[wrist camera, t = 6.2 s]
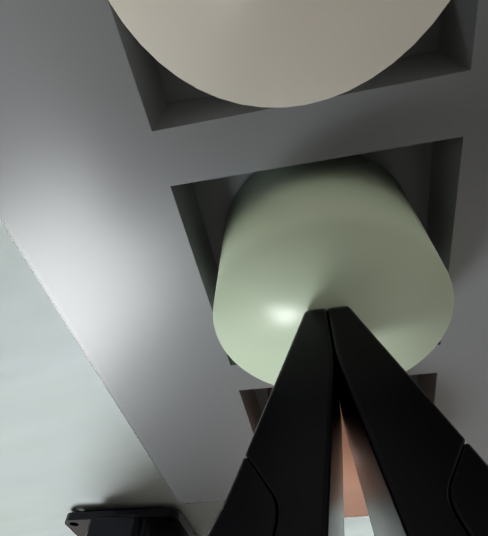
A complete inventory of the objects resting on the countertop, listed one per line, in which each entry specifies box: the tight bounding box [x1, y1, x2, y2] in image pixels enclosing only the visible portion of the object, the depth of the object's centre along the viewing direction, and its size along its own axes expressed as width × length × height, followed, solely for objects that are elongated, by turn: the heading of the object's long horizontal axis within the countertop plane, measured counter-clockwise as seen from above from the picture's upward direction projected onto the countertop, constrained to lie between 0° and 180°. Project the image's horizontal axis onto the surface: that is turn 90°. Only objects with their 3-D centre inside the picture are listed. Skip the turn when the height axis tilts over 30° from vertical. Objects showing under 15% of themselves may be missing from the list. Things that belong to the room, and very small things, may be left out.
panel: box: [0, 0, 488, 503], centre depth 10 cm, size 21×13×3 cm, turn 11°
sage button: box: [213, 154, 454, 385], centre depth 10 cm, size 5×5×3 cm
